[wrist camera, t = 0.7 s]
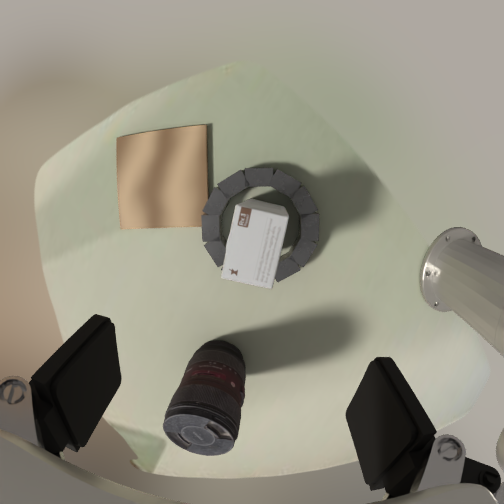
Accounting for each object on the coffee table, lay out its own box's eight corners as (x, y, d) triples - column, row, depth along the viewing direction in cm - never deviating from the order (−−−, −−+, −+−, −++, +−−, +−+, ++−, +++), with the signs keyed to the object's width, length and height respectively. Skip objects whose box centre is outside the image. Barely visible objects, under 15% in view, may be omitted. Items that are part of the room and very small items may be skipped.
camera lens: (222, 325, 36) (197, 404, 21) (259, 363, 37) (253, 446, 23) (181, 351, 37) (145, 425, 23) (218, 385, 39) (198, 462, 24)
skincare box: (273, 254, 33) (275, 294, 21) (236, 245, 33) (219, 282, 21) (285, 203, 31) (295, 217, 20) (247, 195, 31) (234, 203, 20)
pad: (207, 125, 29) (206, 124, 29) (209, 225, 32) (208, 226, 32) (118, 138, 30) (116, 137, 30) (122, 228, 33) (120, 229, 33)
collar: (316, 169, 30) (319, 168, 28) (313, 277, 33) (316, 283, 31) (203, 171, 31) (199, 170, 29) (209, 277, 34) (205, 282, 32)
